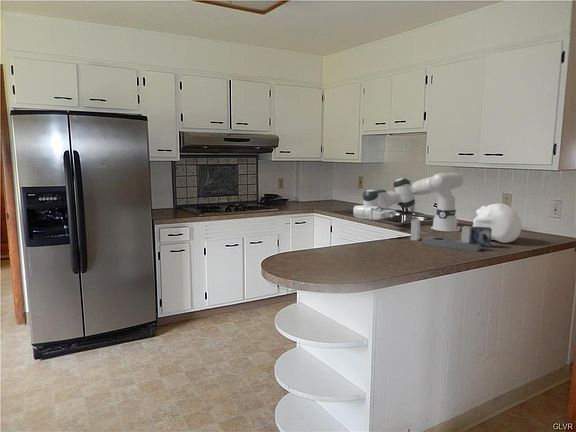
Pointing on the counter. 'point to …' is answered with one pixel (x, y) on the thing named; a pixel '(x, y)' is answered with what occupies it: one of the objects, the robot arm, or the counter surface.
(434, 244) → the rail
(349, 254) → the counter surface
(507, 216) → the head
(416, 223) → the clip
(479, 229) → the small box
